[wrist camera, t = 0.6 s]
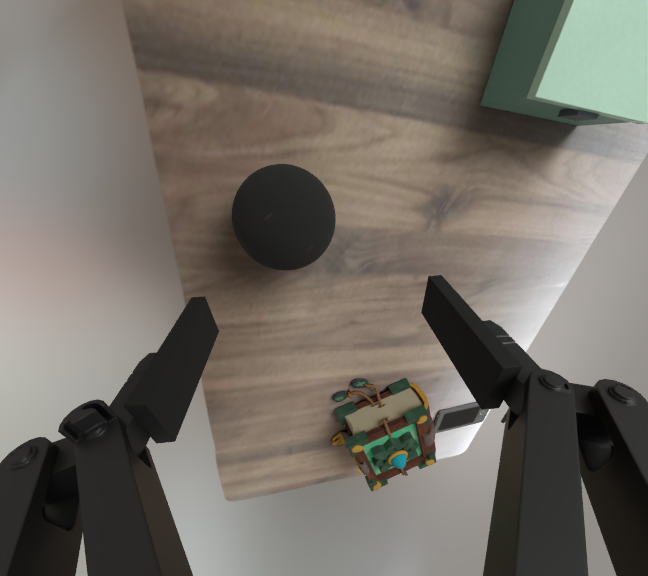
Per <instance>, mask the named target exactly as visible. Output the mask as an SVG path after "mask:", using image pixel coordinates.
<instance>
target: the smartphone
mask: <svg viewBox="0 0 648 576" xmlns="http://www.w3.org/2000/svg"><path fill="white" fill-rule="evenodd" d="M488 410H489V409H484V410H481V408H480V406H479V405H478V403H477V402H476V403H471V404H467V405H463V406H458V407H454V408H449V409H445V410H441V411H439V412H438V414H437V417H436V420H435V422H434V429H435V433H438V432H443V431H447V430H451V429H455V428H459V427H463V426H467V425H471V424H475V423H479V422H482V421H483V420H484V418H485V416H486V414H487V412H488Z"/></svg>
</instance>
